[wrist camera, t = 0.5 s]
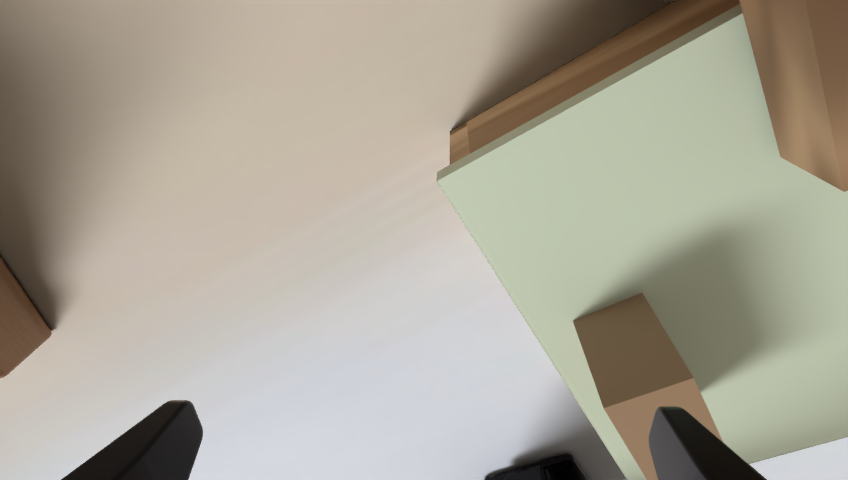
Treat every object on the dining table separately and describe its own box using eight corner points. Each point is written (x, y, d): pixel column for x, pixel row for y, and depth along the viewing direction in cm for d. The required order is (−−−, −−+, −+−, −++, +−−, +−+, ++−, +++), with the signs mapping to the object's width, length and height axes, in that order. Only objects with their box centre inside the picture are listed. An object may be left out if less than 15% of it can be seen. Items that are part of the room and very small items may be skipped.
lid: (932, 392, 19) (1067, 509, 15) (630, 478, 23) (671, 591, 19) (868, -69, 12) (1104, -95, 7) (437, 171, 15) (432, 244, 11)
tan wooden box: (841, 311, 23) (1040, 481, 15) (605, 393, 27) (668, 564, 19) (718, -212, 14) (1054, -450, 6) (384, 21, 18) (331, 55, 10)
